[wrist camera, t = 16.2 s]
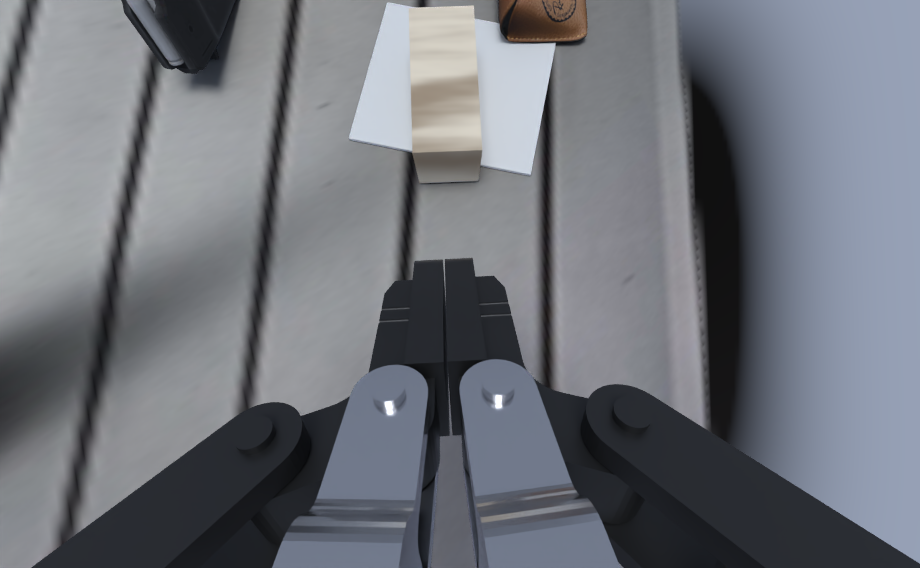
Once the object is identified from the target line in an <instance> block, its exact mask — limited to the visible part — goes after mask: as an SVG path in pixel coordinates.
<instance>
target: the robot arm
mask: <svg viewBox="0 0 920 568" xmlns="http://www.w3.org/2000/svg"><path fill="white" fill-rule="evenodd" d="M445 283H446V300H445V286H444V271H443V260H423V261H415V262H414V271H413V280H405V281H395V282H394V283H393V284H392V286H391V287H390V288H389V289H388V290H387V291H386V293H385V295H384V300H383V305H382V311H381V314H380V319H379V321H380V323H379V324H378V329H377V334H376V339H375V344H374V349H373V354H372V359H371V364H370V369H369V373H368V374H366V375H365V376H364V377H362V378H361V379H360V380H359V381H358V382H357V384H356V385H355V387H354V388H353V390H352V393H351V395H350V397H348V398H347V399H345V400H343V401H341V402H340V403H337V404H335V405H332V406H330V407H327V408H324V409H321V410H318V411H315V412H312V413H309V414H306V415H303V416H300V414H299V412H298V411H297V410H296V409H295V408H294V407H292V406H290V405H288V404H285V403H279V402H271V403H264V404H261V405H257V406H255V407H252V408H250V409H248V410H246V411H244V412H242V413H240V414H239V415H237V416H236V417H234V418H233V419H232V420H230V421H229V422H228V423H226V424H225V425H224V426H222V427H221V428H220V429H218V430H217V431H215V432H214V433H213V434H211V435H210V436H209V437H207V438H206V439H205V440H203V441H202V442H201V443H199V444H198V445H197V446H195V447H194V448H192V449H191V450H190V451H188V452H187V453H186V454H184V455H183V456H182V457H180V458H179V459H178V460H176V461H175V462H174V463H172V464H171V465H169V466H168V467H167V468H165V469H164V470H163V471H161V472H160V473H159V474H157V475H156V476H155V477H153V478H152V479H151V480H149V481H148V482H146V483H145V484H144V485H142V486H141V487H140V488H138V489H137V490H136V491H134V492H133V493H132V494H130V495H129V496H128V497H126V498H125V499H123V500H122V501H121V502H119V503H118V504H117V505H115V506H114V507H113V508H111V509H110V510H109V511H107V512H106V513H105V514H103V515H102V516H100V517H99V518H98V519H96V520H95V521H94V522H92V523H91V524H90V525H88V526H87V527H86V528H84V529H83V530H82V531H80V532H79V533H77V534H76V535H75V536H73V537H72V538H71V539H69V540H68V541H67V542H65V543H64V544H63V545H61V546H60V547H59V548H57V549H56V550H55V551H53V552H52V553H50V554H49V555H48V556H46V557H45V558H44V559H42V560H41V561H40V562H38V563H37V564H36V565H34V566H33V567H32V568H431V560H432V547H433V534H434V521H435V508H436V495H437V483H438V467H439V461H440V436H450V432H449V391H450V405H451V419H452V433H453V435H461V436H462V454H463V473H464V481H465V489H466V496H467V504H468V512H469V520H470V527H471V535H472V543H473V550H474V558H475V566H476V568H620V566H619V563H620V564H621V565H622V566H623V567H624V568H920V564H919V563H918V562H916V561H914V560H913V559H911V558H909V557H908V556H906V555H905V554H903V553H902V552H900V551H898V550H897V549H895V548H894V547H892V546H891V545H889V544H887V543H886V542H884V541H883V540H881V539H879V538H878V537H876V536H875V535H873V534H871V533H870V532H868V531H867V530H865V529H864V528H862V527H860V526H859V525H857V524H855V523H854V522H852V521H851V520H849V519H847V518H846V517H844V516H843V515H841V514H840V513H838V512H836V511H835V510H833V509H832V508H830V507H829V506H826V505H825V504H824V503H822V502H821V501H819V500H817V499H816V498H814V497H813V496H811V495H809V494H808V493H806V492H805V491H803V490H801V489H800V488H798V487H797V486H795V485H793V484H792V483H790V482H789V481H787V480H785V479H784V478H782V477H781V476H779V475H778V474H776V473H774V472H773V471H771V470H770V469H768V468H766V467H765V466H763V465H762V464H760V463H759V462H757V461H755V460H754V459H752V458H751V457H749V456H747V455H746V454H744V453H743V452H741V451H739V450H738V449H736V448H735V447H733V446H731V445H730V444H728V443H727V442H725V441H724V440H722V439H720V438H719V437H717V436H716V435H714V434H712V433H711V432H709V431H708V430H706V429H704V428H703V427H701V426H700V425H698V424H696V423H695V422H693V421H692V420H690V419H688V418H687V417H685V416H684V415H682V414H681V413H679V412H677V411H676V410H674V409H673V408H671V407H669V406H668V405H666V404H665V403H663V402H661V401H660V400H658V399H657V398H655V397H653V396H652V395H650V394H648V393H647V392H645V391H643V390H640V389H638V388H635V387H632V386H627V385H619V384H614V385H607V386H603V387H601V388H599V389H597V390H596V391H594V392H593V393H592V394H591V395H590V397H589V399H588V398H584V397H579V396H575V395H570V394H566V393H561V392H558V391H554V390H552V389H549V388H547V387H545V386H544V385H542V384H540V383H539V382H538V381H536V380H535V379H534V378H533V377H532V376H531V374H530V373H529V372H528V371H527V369H526V368H525V366H524V363H523V360H522V356H521V352H520V348H519V344H518V339H517V335H516V331H515V327H514V323H513V319H512V316H511V311H510V307H509V304H508V299H507V295H506V291H505V287H504V286H503V285H502V284H501V283H500V282H499V281H498V280H497V279H496V278H495V277H494V276H482V277H475V271H474V264H473V258H462V259H445ZM448 377H449V391H448Z"/></svg>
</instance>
